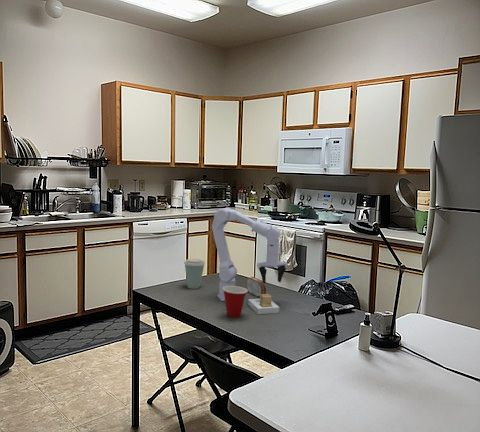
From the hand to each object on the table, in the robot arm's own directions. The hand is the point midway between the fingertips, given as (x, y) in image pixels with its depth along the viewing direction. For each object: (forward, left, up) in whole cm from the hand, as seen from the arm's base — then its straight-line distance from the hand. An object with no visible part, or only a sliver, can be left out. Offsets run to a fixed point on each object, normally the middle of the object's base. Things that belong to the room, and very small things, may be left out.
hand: (271, 282), depth 206 cm
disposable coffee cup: (-35, -30, -11) cm, 47 cm away
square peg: (+9, -6, -10) cm, 15 cm away
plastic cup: (+12, -21, -11) cm, 27 cm away
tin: (-15, -3, -11) cm, 19 cm away
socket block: (+6, -6, -10) cm, 13 cm away
